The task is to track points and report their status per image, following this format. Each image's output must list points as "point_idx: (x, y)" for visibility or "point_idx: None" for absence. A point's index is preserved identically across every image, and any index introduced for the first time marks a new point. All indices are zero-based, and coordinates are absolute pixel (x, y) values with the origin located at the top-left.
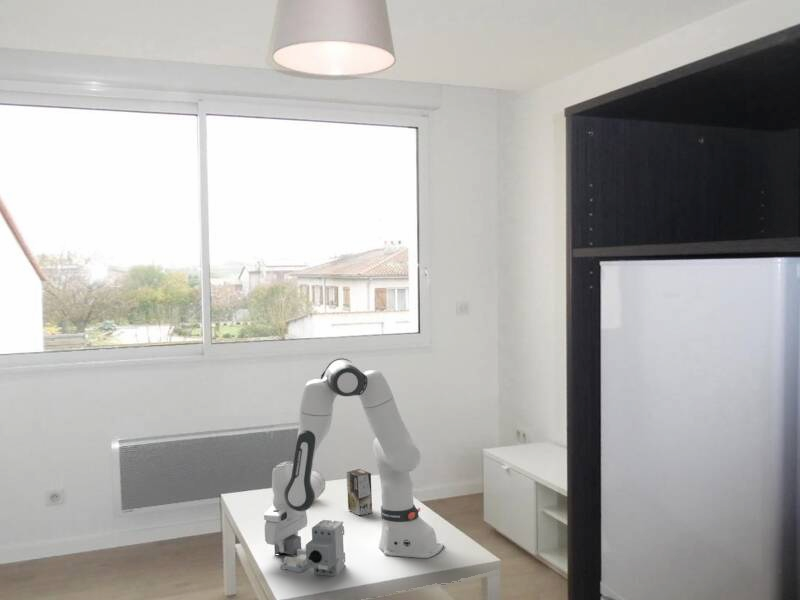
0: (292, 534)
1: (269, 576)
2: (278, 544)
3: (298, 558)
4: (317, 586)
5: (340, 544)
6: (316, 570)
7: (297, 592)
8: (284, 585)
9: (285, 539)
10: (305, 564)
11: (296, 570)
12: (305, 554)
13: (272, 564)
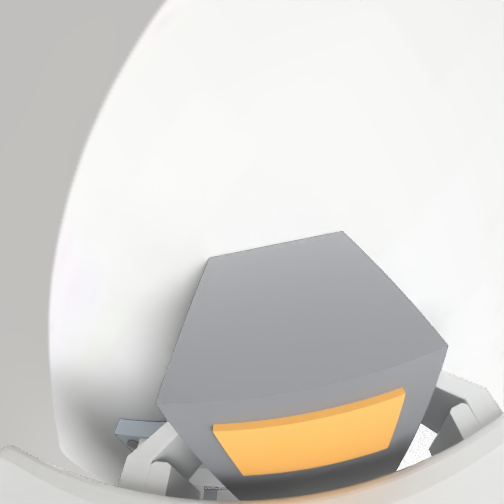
0: (457, 403)
1: (57, 409)
2: (151, 445)
3: (212, 476)
4: None
5: None
6: (212, 497)
7: (105, 481)
8: (87, 458)
9: (241, 495)
10: (203, 488)
11: None
12: None
13: (102, 363)
